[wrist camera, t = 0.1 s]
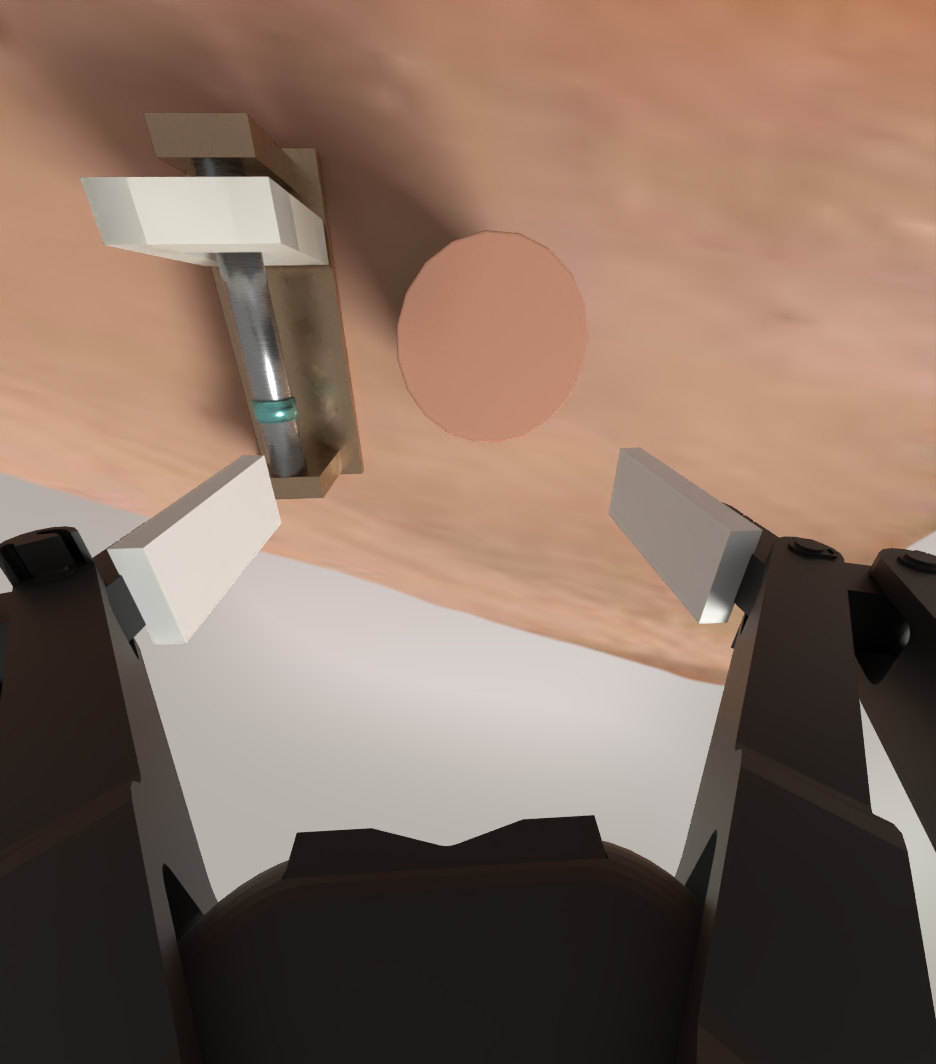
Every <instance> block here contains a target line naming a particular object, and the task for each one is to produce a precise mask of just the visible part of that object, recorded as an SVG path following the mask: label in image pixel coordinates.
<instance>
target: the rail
mask: <svg viewBox="0 0 936 1064" xmlns="http://www.w3.org/2000/svg"><path fill="white" fill-rule="evenodd" d="M144 116H145V119H146V123H147V126H148V130H149V133H150V136H151V140H152V143H153V147H154V150H155V154H156V157H157V158H159V159H160V160H162V161H164V162H166V163H168V164H169V165H171V166H173V167H175V168H177V169H178V170H180V171H182V172H184V173H186V174H187V177H269V178H271V179H272V180H273V181H274V182H276V183H277V184H278V185H279V186H281V187H282V188H283V189H284V190H286V191H287V192H288V193H289V194H291V195H292V196H293V197H294V198H296V199H297V200H298V201H300V202H301V203H302V204H303V205H305V206H306V207H307V208H308V209H310V210H311V211H312V212H313V213H315V214H316V215H317V216H318V217H320V218H321V219H322V222H323V228H324V235H325V242H326V249H327V255H328V262H329V265H269V266H264V261H263V256H262V252H215V255H216V259H217V263H218V266H211V268H212V272H213V276H214V280H215V284H216V287H217V291H218V295H219V299H220V302H221V306H222V310H223V314H224V318H225V321H226V325H227V329H228V333H229V336H230V340H231V344H232V348H233V352H234V355H235V359H236V363H237V367H238V370H239V374H240V378H241V382H242V385H243V389H244V393H245V397H246V401H247V404H248V408H249V412H250V416H251V419H252V423H253V427H254V431H255V435H256V438H257V442H258V446H259V450H260V453H261V455H264V456H265V460H266V464H267V468H268V472H269V476H270V480H271V484H272V488H273V492H274V496H275V499H301V498H324V496H325V495H326V493H327V492H328V490H329V489H330V487H331V486H332V484H333V483H334V481H335V480H336V478H337V477H338V476H339V474H362V473H363V471H364V468H363V461H362V454H361V447H360V440H359V433H358V426H357V419H356V412H355V405H354V398H353V391H352V384H351V377H350V370H349V363H348V356H347V349H346V342H345V335H344V328H343V321H342V314H341V307H340V300H339V293H338V286H337V280H336V273H335V266H334V259H333V252H332V245H331V238H330V231H329V224H328V217H327V210H326V203H325V196H324V189H323V182H322V175H321V168H320V161H319V154H318V152H317V151H316V149H315V148H280V147H279V146H278V145H277V144H276V143H275V142H274V141H273V140H272V139H271V138H270V137H269V135H268V134H267V133H266V132H265V131H264V130H263V129H262V128H261V127H260V126H259V125H258V124H257V123H256V122H255V121H254V120H253V119H252V118H251V117H250V116H249V115H248V114H247V113H144Z"/></svg>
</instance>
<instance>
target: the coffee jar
mask: <svg viewBox="0 0 936 1064" xmlns="http://www.w3.org/2000/svg"><path fill="white" fill-rule="evenodd" d="M587 341H588V332H587V323H586V313H585V304H584V302H583V299H582V297H581V295H580V293H579V290H578V288H577V286H576V283H575V281H574V279H573V276H572V274H571V272H570V271H569V270H568V269H567V268H566V267H565V266H564V265H563V264H562V263H561V262H560V260H559V259H558V258H557V257H556V256H555V255H554V254H553V253H552V252H551V251H550V249H549V248H547V247H545V246H543V245H541V244H539V243H537V242H535V241H533V240H531V239H529V238H527V237H525V236H523V235H521V234H519V233H510V232H497V231H482V232H479V233H476V234H472V235H469V236H466V237H463V238H460V239H457V240H453V241H452V242H450V243H449V244H448V245H447V246H445V247H444V248H443V249H441V250H440V251H439V252H438V253H436V254H435V255H434V256H433V257H431V258H430V259H429V260H428V261H426V262H425V263H424V265H423V266H422V268H421V270H420V271H419V273H418V274H417V276H416V277H415V279H414V280H413V282H412V284H411V285H410V287H409V288H408V290H407V291H406V294H405V297H404V301H403V305H402V308H401V312H400V316H399V319H398V323H397V356H398V362H399V365H400V368H401V372H402V375H403V378H404V381H405V384H406V387H407V390H408V391H409V393H410V394H411V396H412V397H413V399H414V400H415V402H416V403H417V404H418V406H419V407H420V409H421V410H422V412H423V413H424V414H425V415H426V416H427V417H428V418H430V419H431V420H432V421H433V422H435V423H436V424H437V425H439V426H440V427H441V428H442V429H444V430H445V431H446V432H448V433H451V434H454V435H456V436H459V437H462V438H465V439H467V440H470V441H477V442H502V441H506V440H510V439H513V438H517V437H521V436H524V435H526V434H528V433H530V432H531V431H533V430H534V429H536V428H537V427H539V426H541V425H542V424H544V423H545V422H547V421H549V420H550V419H551V417H552V416H553V415H554V414H555V413H556V412H557V411H558V410H559V408H560V407H561V406H562V405H563V404H564V403H565V402H566V400H567V399H568V398H569V396H570V394H571V392H572V390H573V388H574V386H575V384H576V382H577V380H578V378H579V376H580V374H581V372H582V369H583V363H584V358H585V352H586V347H587Z"/></svg>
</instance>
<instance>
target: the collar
mask: <svg viewBox="0 0 936 1064" xmlns="http://www.w3.org/2000/svg"><path fill="white" fill-rule="evenodd" d="M80 179H81V182H82V185H83V187H84V190H85V193H86V196H87V198H88V201H89V204H90V207H91V209H92V212H93V215H94V218H95V220H96V223H97V226H98V229H99V232H100V234H101V237H102V240H103V243H104V245H107V246H112V247H116V248H121V249H126V250H131V251H135V252H140V253H145V254H150V255H154V256H159V257H164V258H168V259H173V260H178V261H183V262H187V263H192V264H197V265H202V266H218V263H217V259H216V255H215V252H262V256H263V261H264V266H269V265H329V262H328V255H327V249H326V242H325V235H324V228H323V222H322V219H321V218H320V217H318V216H317V215H316V214H315V213H313V212H312V211H311V210H310V209H308V208H307V207H306V206H305V205H303V204H302V203H301V202H300V201H298V200H297V199H296V198H294V197H293V196H292V195H291V194H289V193H288V192H287V191H286V190H284V189H283V188H282V187H281V186H279V185H278V184H277V183H276V182H274V181H273V180H272V179H271V178H269V177H80Z"/></svg>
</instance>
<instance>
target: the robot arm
mask: <svg viewBox="0 0 936 1064" xmlns="http://www.w3.org/2000/svg"><path fill="white" fill-rule="evenodd" d="M609 515H610V517H611V518H612V519H613V520H614V521H615V523H616V524H617V525H618V526H619V528H620V529H621V530H622V531H623V532H624V534H625V535H626V536H627V537H628V538H629V540H630V541H631V542H632V543H633V544H634V546H635V547H636V548H637V549H638V551H639V552H640V553H641V554H642V555H643V557H644V558H645V559H646V560H647V561H648V563H649V564H650V565H651V566H652V567H653V569H654V570H655V571H656V572H657V573H658V575H659V576H660V577H661V578H662V580H663V581H664V582H665V583H666V584H667V586H668V587H669V588H670V589H671V590H672V592H673V593H674V594H675V595H676V596H677V598H678V599H679V600H680V601H681V603H682V604H683V605H684V606H685V607H686V609H687V610H688V611H689V612H690V613H691V615H692V616H693V617H694V618H695V619H696V621H697V622H698V623H699V624H700V623H726V622H728V619H729V616H730V614H731V611H732V609H733V606H734V604H736V605H737V606H738V607H739V608H740V609H741V610H742V611H743V612H744V613H745V614H744V616H743V619H742V621H741V624H740V626H739V629H738V631H737V634H736V636H735V639H734V641H733V643H732V646H731V648H734V651H733V655H732V659H731V663H730V667H729V671H728V675H727V679H726V683H725V687H724V691H723V696H722V699H721V703H720V707H719V712H718V715H717V720H716V723H715V727H714V731H713V736H712V739H711V743H710V747H709V751H708V755H707V759H706V763H705V767H704V771H703V775H702V780H701V783H700V788H699V792H698V796H697V800H696V804H695V808H694V812H693V816H692V820H691V824H690V828H689V832H688V836H687V840H686V844H685V848H684V851H683V855H682V858H681V861H680V864H679V867H678V870H677V873H676V875H675V878H674V877H673V876H672V875H671V874H669V873H668V872H666V871H665V870H663V869H662V868H660V867H659V866H657V865H656V864H654V863H653V862H651V861H650V860H648V859H646V858H644V857H642V856H640V855H638V854H636V853H634V852H633V851H631V850H628V849H626V848H623V847H620V846H618V845H615V844H612V843H609V842H605V841H602V840H601V836H600V833H599V830H598V826H597V823H596V820H595V816H594V815H591V816H574V817H558V818H540V819H523V820H520V821H518V822H515V823H512V824H510V825H507V826H504V827H502V828H499V829H496V830H494V831H491V832H488V833H485V834H483V835H480V836H478V837H475V838H472V839H469V840H467V841H464V842H462V843H459V844H456V845H452V846H440V845H436V844H432V843H428V842H424V841H420V840H416V839H412V838H408V837H404V836H400V835H396V834H391V833H388V832H384V831H380V830H376V829H372V828H370V829H354V830H353V829H352V830H335V831H319V832H300V833H297V834H296V837H295V841H294V844H293V848H292V851H291V855H290V858H289V860H288V861H285V862H283V863H280V864H278V865H276V866H274V867H272V868H270V869H268V870H266V871H264V872H262V873H260V874H258V875H257V876H255V877H254V878H252V879H250V880H249V881H247V882H246V883H244V884H242V885H241V886H239V887H238V888H237V889H235V890H234V891H233V892H231V893H230V894H229V895H227V896H226V897H225V898H223V899H222V900H221V901H219V902H217V900H216V898H215V895H214V893H213V890H212V888H211V885H210V882H209V879H208V876H207V873H206V870H205V866H204V863H203V859H202V856H201V853H200V849H199V846H198V843H197V839H196V836H195V833H194V830H193V826H192V822H191V819H190V816H189V813H188V809H187V806H186V802H185V799H184V796H183V792H182V789H181V785H180V782H179V779H178V776H177V772H176V769H175V765H174V762H173V759H172V755H171V752H170V748H169V745H168V742H167V739H166V735H165V732H164V728H163V725H162V722H161V719H160V715H159V712H158V708H157V705H156V701H155V698H154V695H153V691H152V688H151V685H150V681H149V678H148V675H147V672H146V668H145V664H144V661H143V658H142V655H141V651H140V648H139V646H138V644H137V642H136V641H135V639H134V636H135V635H136V634H137V633H138V632H139V631H140V630H141V629H142V628H143V627H144V626H145V627H146V629H147V631H148V633H149V635H150V637H151V639H152V641H153V643H154V644H155V645H157V644H181V643H187V641H188V640H189V639H190V637H191V636H192V635H193V634H194V633H195V631H196V630H197V629H198V627H199V626H200V625H201V624H202V622H203V621H204V620H205V619H206V617H207V616H208V615H209V614H210V612H211V611H212V610H213V609H214V607H215V606H216V605H217V604H218V602H219V601H220V600H221V599H222V597H223V596H224V594H225V593H226V592H227V591H228V590H229V588H230V587H231V586H232V585H233V583H234V582H235V581H236V580H237V578H238V577H239V576H240V575H241V573H242V572H243V571H244V569H245V568H246V567H247V566H248V564H249V563H250V562H251V561H252V559H253V558H254V557H255V556H256V554H257V553H258V552H259V551H260V549H261V548H262V547H263V546H264V544H265V543H266V542H267V541H268V539H269V538H270V537H271V535H272V534H273V533H274V532H275V530H276V529H277V528H278V527H279V525H280V524H281V520H280V516H279V512H278V508H277V504H276V500H275V496H274V492H273V488H272V484H271V480H270V476H269V472H268V468H267V464H266V460H265V456H264V455H250V456H241V457H240V458H239V459H237V460H236V461H234V462H233V463H231V464H230V465H228V466H227V467H225V468H224V469H222V470H221V471H220V472H218V473H217V474H215V475H214V476H212V477H211V478H209V479H208V480H206V481H205V482H204V483H202V484H201V485H199V486H198V487H196V488H195V489H193V490H192V491H190V492H189V493H188V494H186V495H185V496H183V497H182V498H180V499H179V500H177V501H176V502H174V503H173V504H172V505H170V506H169V507H167V508H166V509H164V510H163V511H161V512H160V513H158V514H157V515H155V516H154V517H153V518H151V519H150V520H148V521H147V522H145V523H143V524H142V525H141V526H139V527H137V528H136V529H134V530H133V531H131V533H129V534H127V535H126V536H124V537H123V538H121V539H120V540H119V541H117V542H115V543H114V544H112V545H111V546H110V547H108V548H107V549H105V550H104V551H102V552H101V553H99V554H98V555H96V556H95V557H93V558H92V557H91V555H90V553H89V551H88V549H87V547H86V545H85V543H84V542H83V540H82V538H81V536H80V534H79V532H78V530H76V529H75V528H73V527H66V526H65V527H51V528H46V529H41V530H36V531H32V532H29V533H25V534H22V535H19V536H16V537H14V538H11V539H9V540H6V541H4V542H2V543H1V544H0V567H1V569H2V570H3V572H4V574H5V575H6V576H7V578H8V580H9V581H10V582H11V584H12V586H13V590H12V592H8V593H2V594H0V1064H936V1018H935V1012H934V1006H933V1000H932V994H931V988H930V982H929V976H928V970H927V964H926V958H925V952H924V946H923V940H922V935H921V928H920V922H919V917H918V910H917V905H916V899H915V893H914V887H913V881H912V875H911V869H910V863H909V857H908V851H907V848H906V845H905V842H904V839H903V835H902V833H901V832H900V831H899V830H898V829H897V827H895V825H894V824H893V823H891V822H889V821H886V820H884V819H882V818H880V817H878V816H876V815H874V814H872V810H871V803H870V794H869V784H868V775H867V766H866V758H865V748H864V738H863V729H862V721H861V711H860V702H859V699H860V701H861V703H862V705H863V707H864V709H865V711H866V713H867V715H868V717H869V719H870V721H871V723H872V725H873V727H874V729H875V731H876V733H877V735H878V737H879V739H880V741H881V743H882V745H883V747H884V749H885V751H886V753H887V755H888V757H889V759H890V761H891V763H892V765H893V767H894V769H895V771H896V773H897V775H898V777H899V779H900V781H901V783H902V785H903V787H904V789H905V791H906V793H907V795H908V797H909V799H910V801H911V803H912V805H913V807H914V809H915V811H916V813H917V815H918V817H919V819H920V821H921V823H922V825H923V827H924V829H925V831H926V833H927V835H928V837H929V839H930V841H931V843H932V845H933V847H934V849H935V851H936V556H934V555H931V554H927V553H925V552H921V551H917V550H915V551H910V550H906V549H896V548H889V549H883V550H881V551H880V552H879V553H878V555H877V557H876V559H875V561H874V562H873V564H872V566H867V565H860V564H852V563H844V558H843V557H842V555H841V554H840V553H839V552H837V551H836V550H835V549H833V548H831V547H829V546H827V545H824V544H822V543H819V542H817V541H814V540H811V539H805V538H799V537H781V538H779V537H777V536H776V535H774V534H773V533H771V532H770V531H768V530H767V529H765V528H764V527H762V526H761V525H759V524H758V523H756V522H753V520H752V519H750V518H749V517H747V516H746V515H745V516H743V513H741V512H740V511H738V510H737V509H735V508H733V507H732V506H730V505H727V504H725V503H722V502H720V501H719V500H717V499H716V498H714V497H713V496H711V495H710V494H708V493H707V492H705V491H704V490H702V489H701V488H699V487H698V486H696V485H695V484H693V483H692V482H690V481H689V480H688V479H686V478H685V477H683V476H682V475H680V474H679V473H677V472H676V471H674V470H673V469H671V468H670V467H668V466H667V465H665V464H664V463H662V462H661V461H659V460H658V459H656V458H655V457H653V456H652V455H650V454H649V453H647V452H646V451H644V450H643V449H641V448H620V453H619V458H618V464H617V470H616V475H615V481H614V486H613V492H612V498H611V503H610V509H609Z"/></svg>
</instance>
